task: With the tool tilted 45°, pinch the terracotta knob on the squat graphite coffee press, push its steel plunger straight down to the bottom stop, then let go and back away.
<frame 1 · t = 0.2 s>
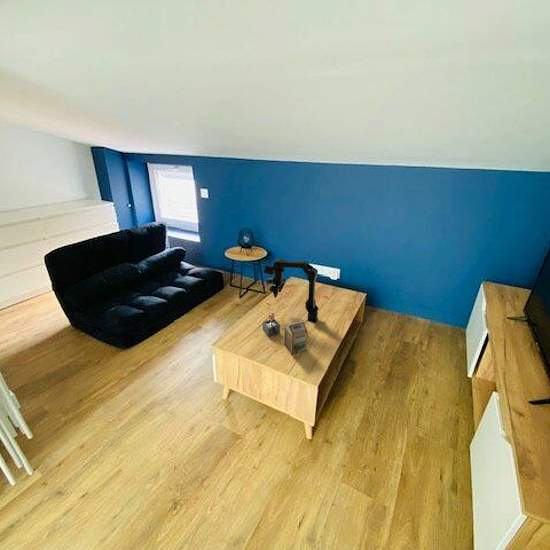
hand: (277, 295, 220), 15 cm above the table, tool pointing down, fingers open, 9 cm apart
plunger: (271, 319, 198), point 9 cm above the table, slide at 4.0 cm
press: (271, 331, 202), on the table
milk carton: (295, 348, 187), on the table
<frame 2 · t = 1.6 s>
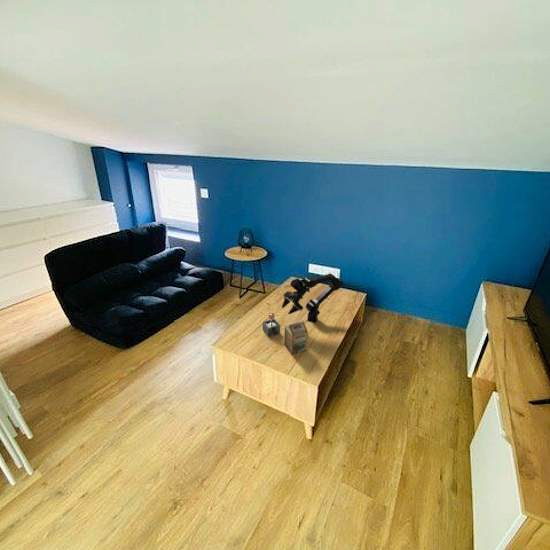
hand: (285, 310, 201), 14 cm above the table, tool tilted 45°, fingers open, 9 cm apart
nothing on the table moved.
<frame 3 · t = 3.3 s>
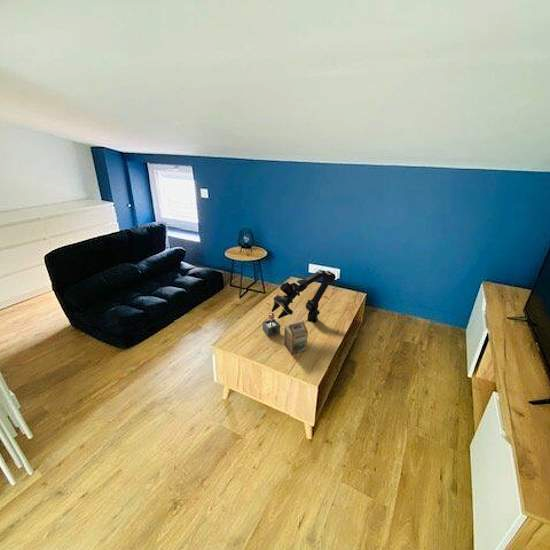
hand: (274, 315, 198), 12 cm above the table, tool tilted 45°, fingers open, 9 cm apart
nothing on the table moved.
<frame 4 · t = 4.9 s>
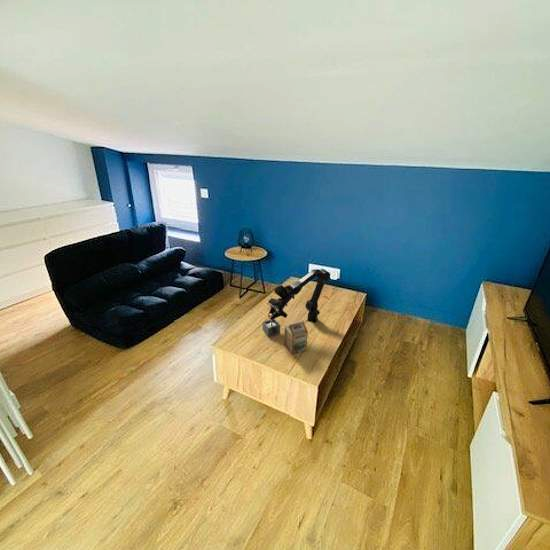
hand: (269, 318, 197), 11 cm above the table, tool tilted 45°, fingers closed on plunger, 4 cm apart
plunger: (271, 319, 198), point 9 cm above the table, slide at 4.0 cm, touching gripper
everything else where it was.
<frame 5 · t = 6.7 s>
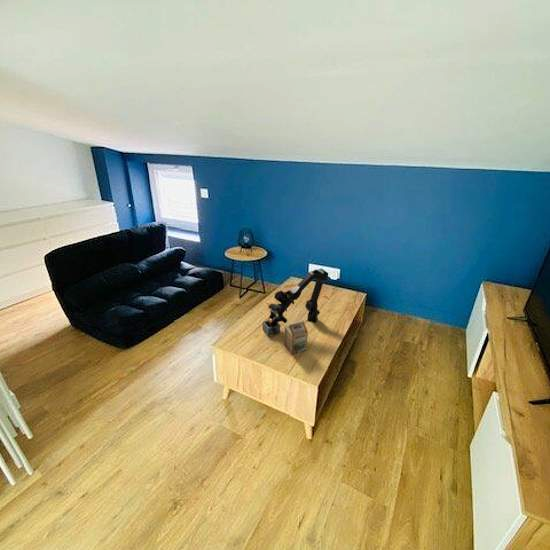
hand: (269, 323, 199), 7 cm above the table, tool tilted 45°, fingers closed on plunger, 4 cm apart
plunger: (271, 325, 200), point 5 cm above the table, slide at -0.1 cm, touching gripper
everything else where it was.
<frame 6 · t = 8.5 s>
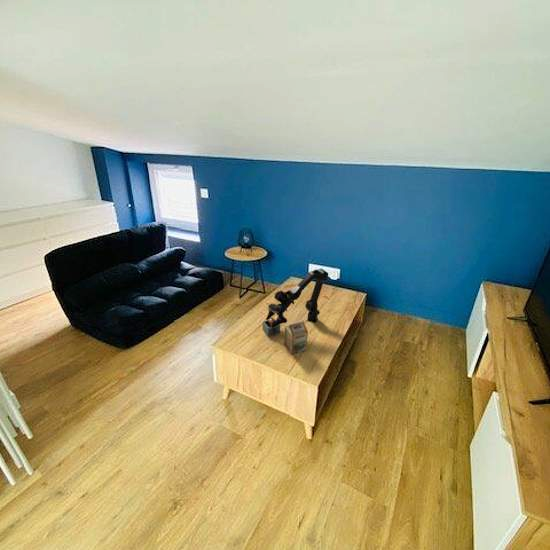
hand: (269, 323, 199), 7 cm above the table, tool tilted 45°, fingers open, 9 cm apart
plunger: (271, 325, 200), point 5 cm above the table, slide at -0.1 cm
everything else where it was.
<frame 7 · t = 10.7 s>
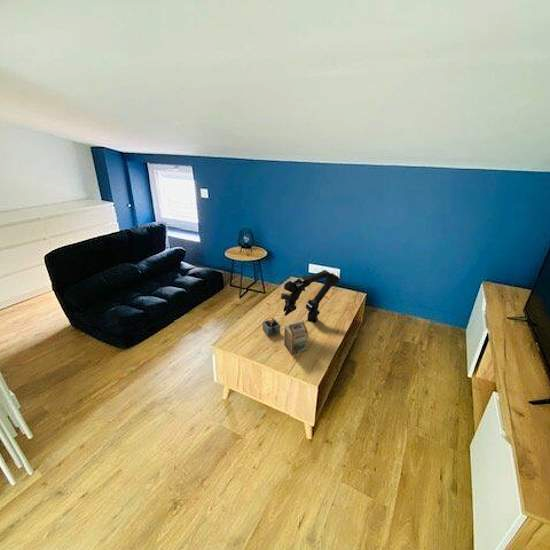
hand: (284, 313, 202), 11 cm above the table, tool tilted 30°, fingers open, 9 cm apart
nothing on the table moved.
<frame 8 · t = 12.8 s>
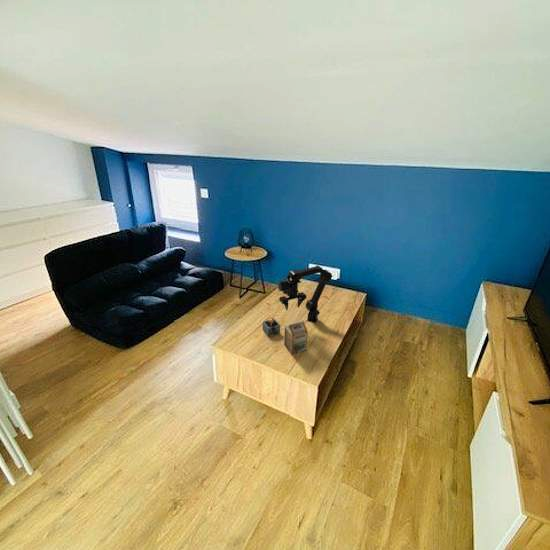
hand: (292, 308, 205), 13 cm above the table, tool pointing down, fingers open, 9 cm apart
nothing on the table moved.
at the end: plunger slide at -0.1 cm; the gripper is holding nothing; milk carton moved 0.3 cm from its start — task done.
